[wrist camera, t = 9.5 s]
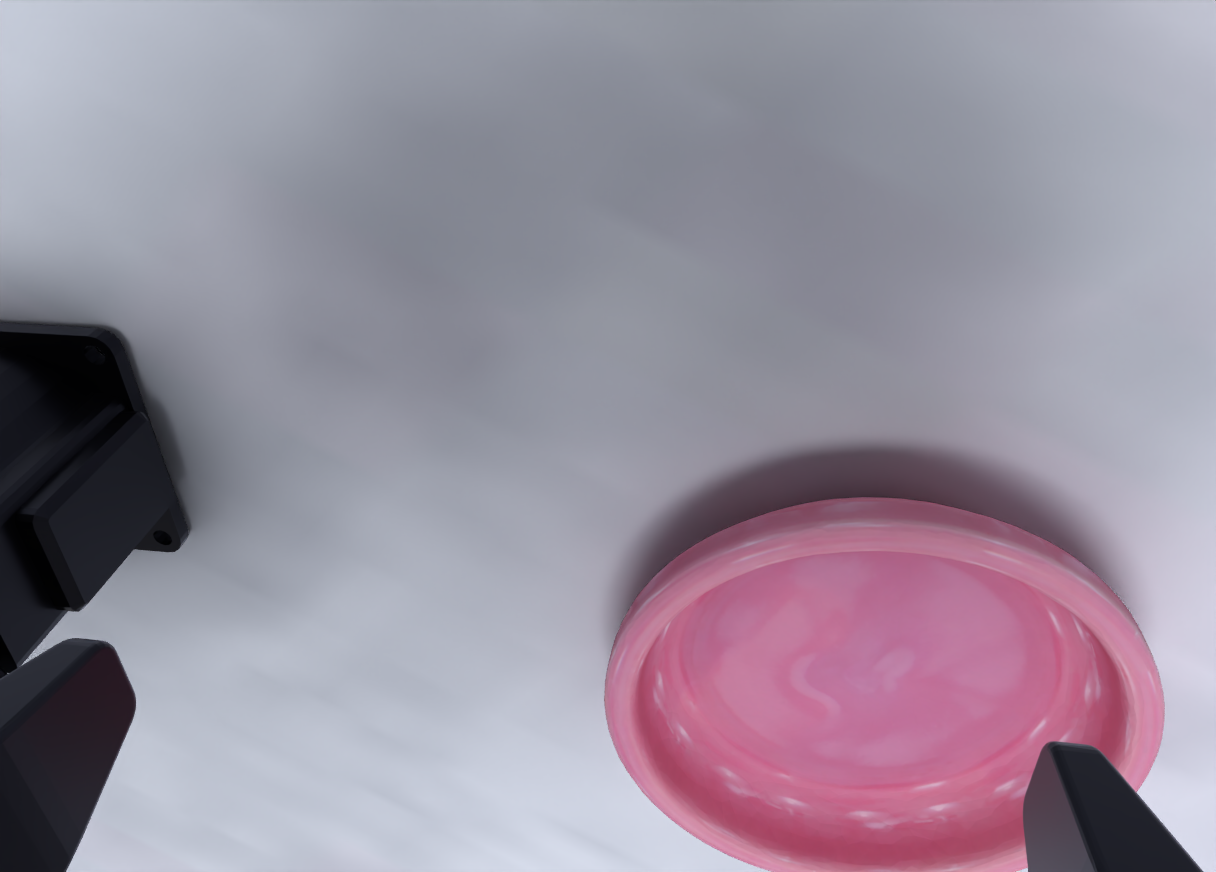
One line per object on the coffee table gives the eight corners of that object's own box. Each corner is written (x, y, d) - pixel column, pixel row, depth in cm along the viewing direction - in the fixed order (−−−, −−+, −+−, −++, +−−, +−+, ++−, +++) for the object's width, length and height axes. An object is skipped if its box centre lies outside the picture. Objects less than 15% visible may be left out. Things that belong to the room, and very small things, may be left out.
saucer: (556, 489, 23) (528, 577, 21) (1114, 394, 20) (1164, 487, 17) (690, 804, 30) (681, 902, 27) (1134, 777, 26) (1172, 887, 23)
